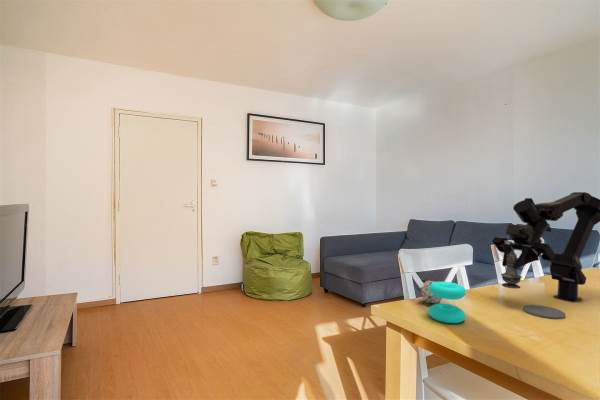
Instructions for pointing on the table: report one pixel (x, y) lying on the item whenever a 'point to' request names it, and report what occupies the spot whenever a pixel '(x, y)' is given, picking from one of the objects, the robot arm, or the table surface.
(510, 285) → the dark grey tall piece
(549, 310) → the charcoal mat
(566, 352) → the table surface
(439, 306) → the donuts
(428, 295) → the game die
